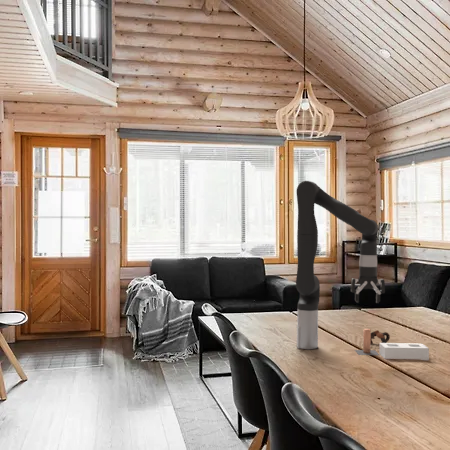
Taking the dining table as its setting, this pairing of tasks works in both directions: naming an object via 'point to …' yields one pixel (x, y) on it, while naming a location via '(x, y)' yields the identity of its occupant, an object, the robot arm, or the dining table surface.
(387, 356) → the socket block
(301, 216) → the robot arm
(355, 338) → the dining table surface
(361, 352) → the mat
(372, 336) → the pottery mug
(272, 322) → the dining table surface
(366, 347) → the dowel
